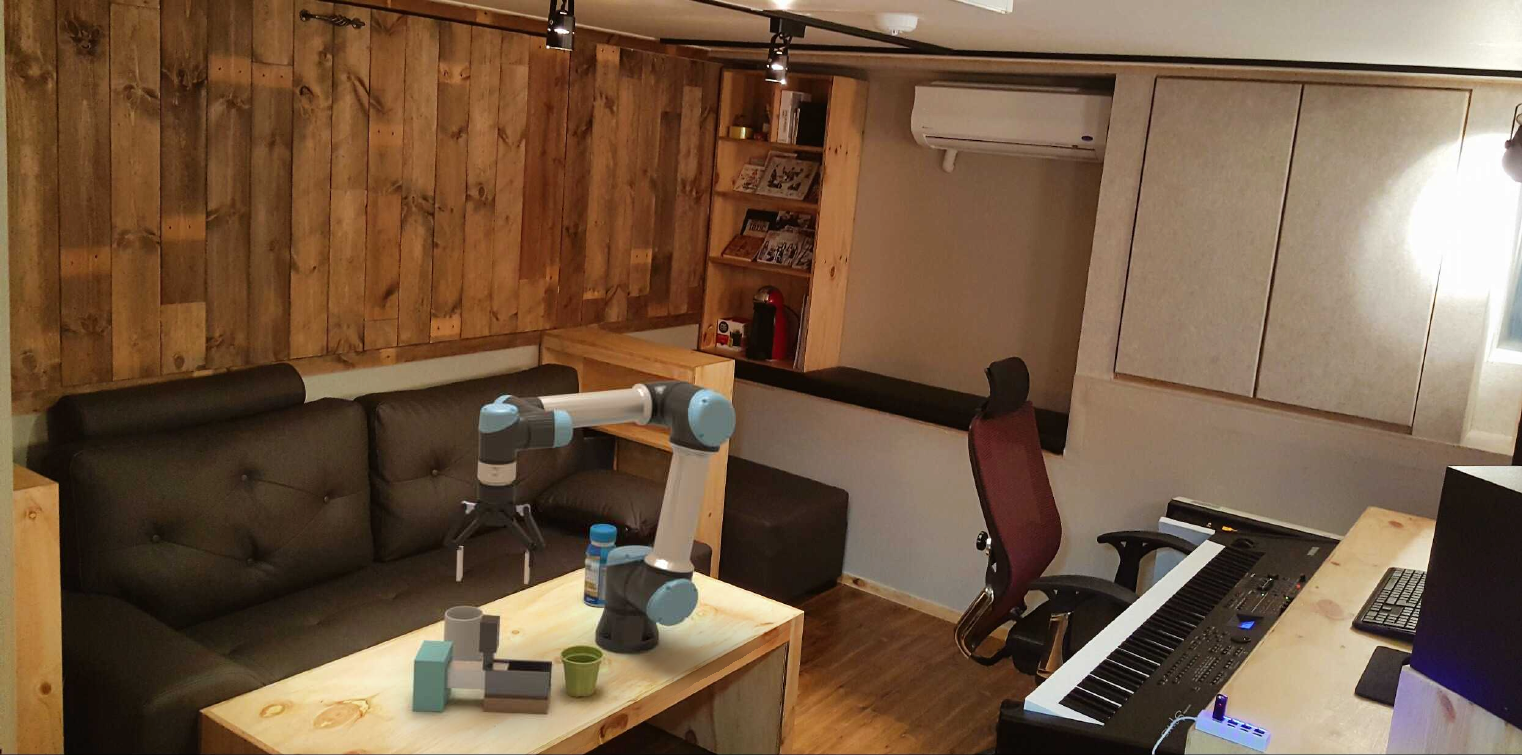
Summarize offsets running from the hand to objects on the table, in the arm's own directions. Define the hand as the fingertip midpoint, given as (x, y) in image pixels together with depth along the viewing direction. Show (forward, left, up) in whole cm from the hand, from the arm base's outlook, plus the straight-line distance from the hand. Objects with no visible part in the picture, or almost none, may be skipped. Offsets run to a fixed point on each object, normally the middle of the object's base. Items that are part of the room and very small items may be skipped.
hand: (493, 580), depth 247 cm
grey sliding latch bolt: (+4, +1, -23) cm, 23 cm away
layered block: (-6, +1, -27) cm, 27 cm away
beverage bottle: (-20, -58, -27) cm, 67 cm away
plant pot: (-19, -6, -27) cm, 33 cm away
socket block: (+11, +1, -27) cm, 29 cm away
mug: (+7, -21, -27) cm, 35 cm away
